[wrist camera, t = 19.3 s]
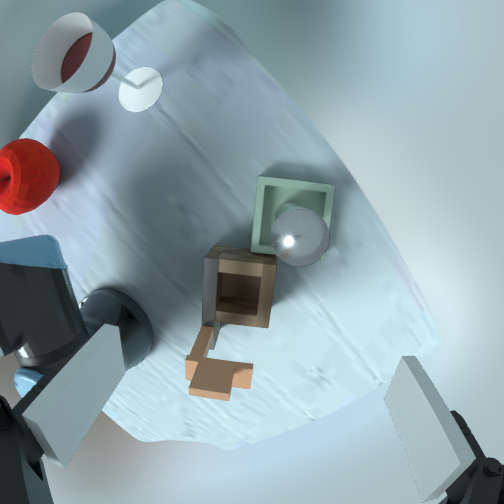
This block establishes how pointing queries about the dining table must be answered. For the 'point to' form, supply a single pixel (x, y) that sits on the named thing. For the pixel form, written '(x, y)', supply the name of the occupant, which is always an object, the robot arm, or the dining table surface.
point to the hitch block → (237, 288)
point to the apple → (26, 175)
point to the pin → (299, 234)
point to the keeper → (214, 370)
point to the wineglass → (88, 63)
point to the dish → (278, 192)
